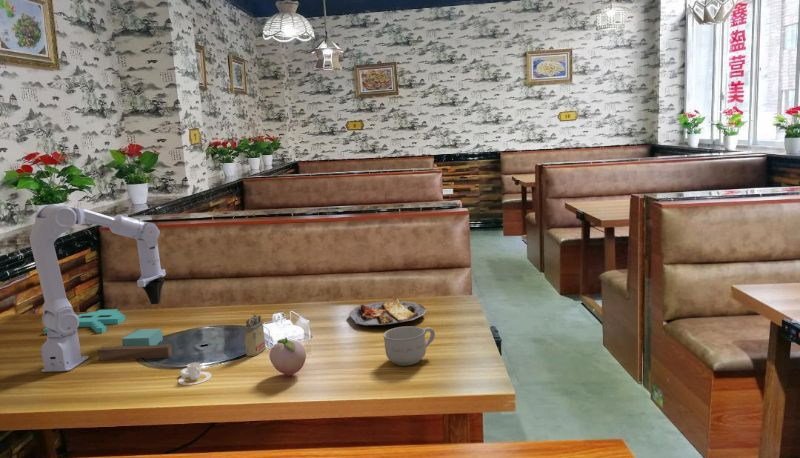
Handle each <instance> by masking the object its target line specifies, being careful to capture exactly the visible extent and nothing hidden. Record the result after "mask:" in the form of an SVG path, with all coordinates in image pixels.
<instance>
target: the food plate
mask: <svg viewBox="0 0 800 458" xmlns="http://www.w3.org/2000/svg"><path fill="white" fill-rule="evenodd" d="M426 312H427V309H426V308H425V307H424V306H423V305H422V304H419V303H417V302H413V301H408V300H406V301H405V300H400V299H398V297H394V298H392V299H389V300H385V301H375V302H370V303H366V304H360V306H356V307H354V308H353V309H352V310H350V312H349V313H348V316H349V317H350V319H351V320H352V321H354V323H355V324H358V325H362V326H390V325H396V324H398V325H399V324H403V323H407V322H409V321H410V322H411V321H415V320H416V319H418V318H420V317H422V316H423V315H425V314H426Z"/></svg>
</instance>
